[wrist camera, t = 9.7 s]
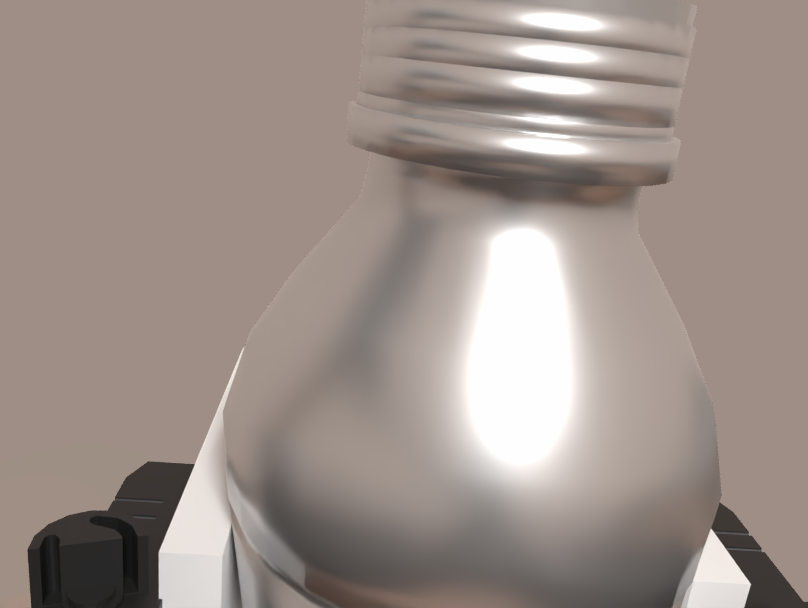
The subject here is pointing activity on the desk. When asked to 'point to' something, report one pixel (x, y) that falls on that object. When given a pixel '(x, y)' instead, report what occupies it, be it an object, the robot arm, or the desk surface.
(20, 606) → the desk surface
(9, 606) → the desk surface
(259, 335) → the aluminum bottle
